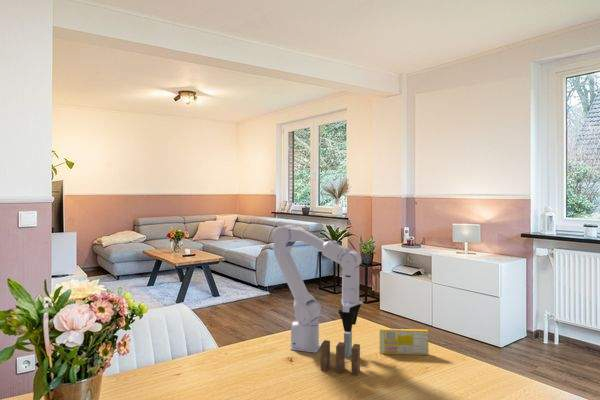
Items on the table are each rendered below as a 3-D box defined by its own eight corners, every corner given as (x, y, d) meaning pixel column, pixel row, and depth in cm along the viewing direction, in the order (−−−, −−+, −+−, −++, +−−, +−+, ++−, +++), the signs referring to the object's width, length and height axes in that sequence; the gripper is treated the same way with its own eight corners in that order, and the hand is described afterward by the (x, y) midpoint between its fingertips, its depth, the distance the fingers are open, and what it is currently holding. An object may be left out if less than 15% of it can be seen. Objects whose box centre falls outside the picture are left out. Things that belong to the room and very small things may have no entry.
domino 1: (320, 370, 127) (321, 344, 127) (324, 365, 131) (324, 340, 130) (326, 371, 126) (326, 345, 126) (329, 365, 130) (329, 340, 130)
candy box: (427, 353, 141) (427, 329, 140) (428, 355, 138) (428, 331, 138) (379, 351, 142) (379, 327, 142) (379, 353, 140) (379, 329, 140)
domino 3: (343, 357, 137) (344, 333, 137) (346, 352, 140) (346, 329, 140) (349, 358, 136) (349, 334, 136) (351, 353, 140) (351, 330, 140)
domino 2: (335, 372, 125) (336, 346, 125) (339, 367, 129) (339, 341, 129) (341, 373, 125) (341, 347, 125) (344, 368, 128) (344, 342, 128)
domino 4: (351, 374, 124) (351, 348, 124) (354, 369, 128) (354, 343, 127) (357, 375, 123) (357, 349, 123) (359, 370, 127) (359, 344, 127)
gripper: (358, 293, 129) (357, 336, 130) (366, 283, 143) (365, 322, 144) (336, 291, 132) (336, 333, 132) (346, 282, 145) (345, 320, 146)
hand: (350, 327), depth 138 cm, fingers open, 7 cm apart
